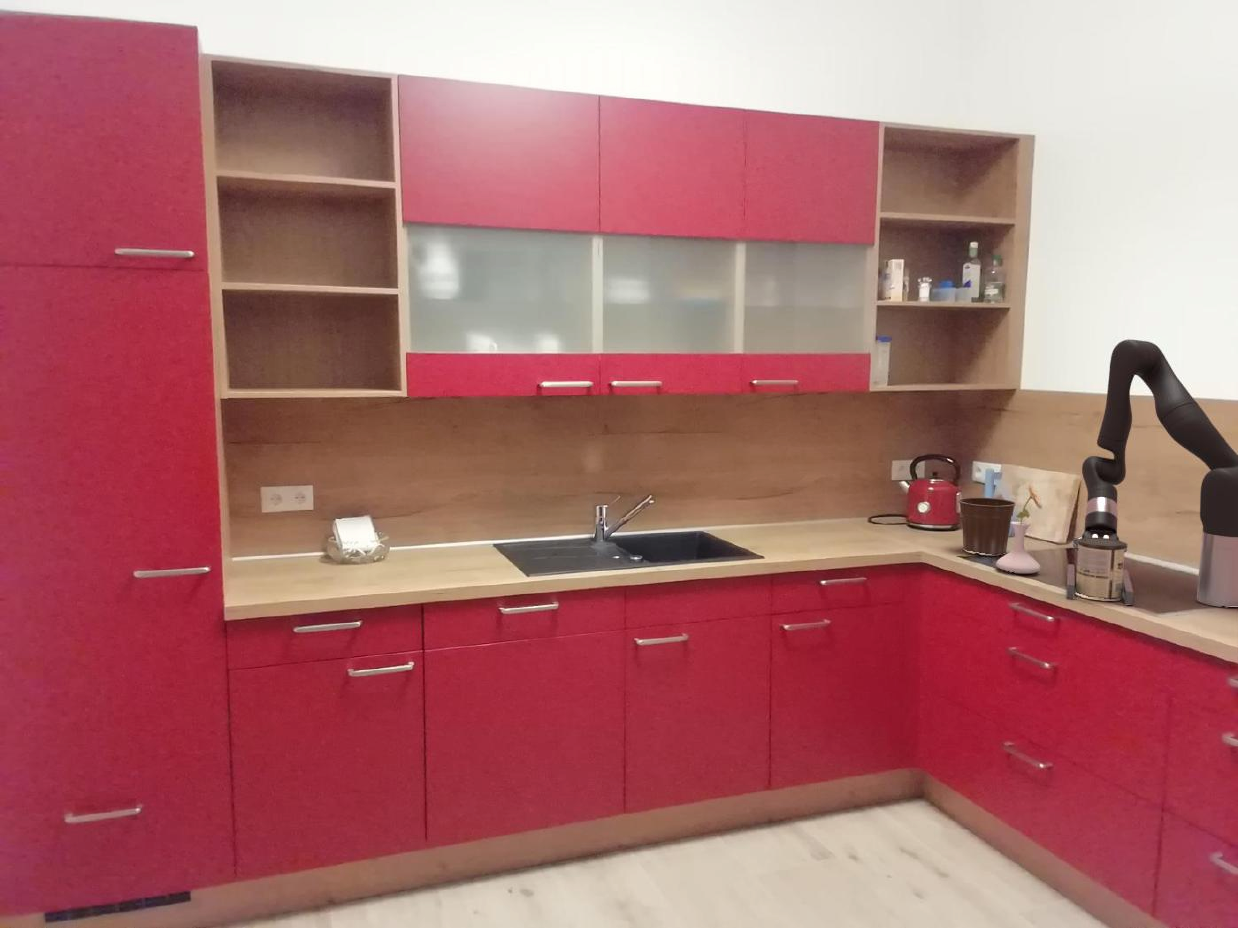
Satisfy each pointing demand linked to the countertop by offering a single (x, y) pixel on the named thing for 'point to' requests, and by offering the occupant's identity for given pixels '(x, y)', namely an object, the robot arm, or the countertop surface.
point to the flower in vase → (1021, 544)
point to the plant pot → (986, 524)
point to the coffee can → (1100, 567)
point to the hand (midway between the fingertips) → (1098, 573)
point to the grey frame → (1126, 585)
